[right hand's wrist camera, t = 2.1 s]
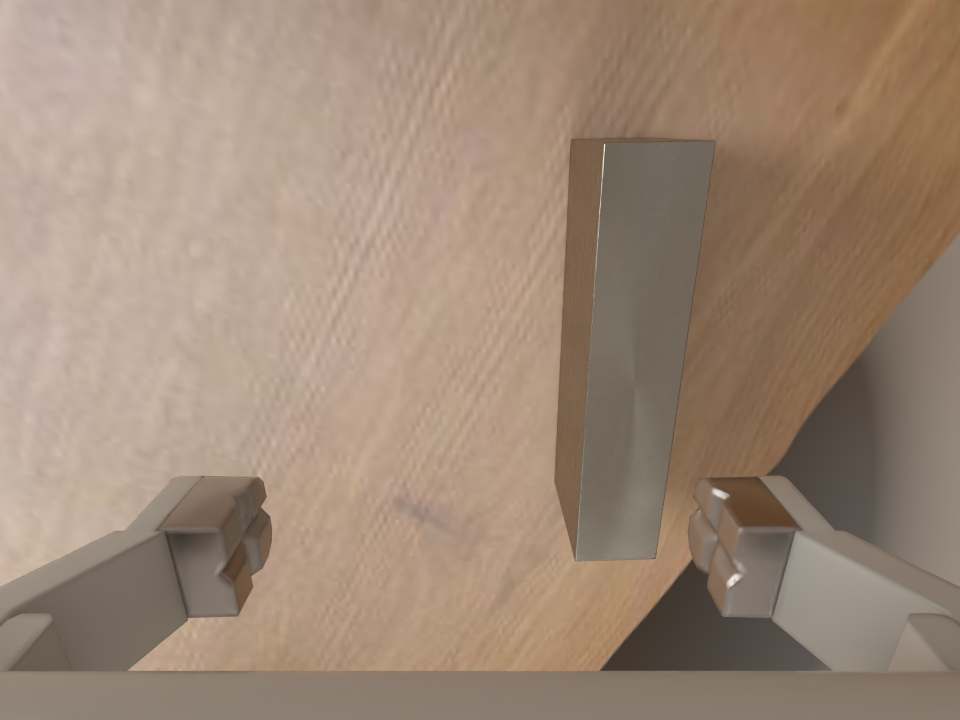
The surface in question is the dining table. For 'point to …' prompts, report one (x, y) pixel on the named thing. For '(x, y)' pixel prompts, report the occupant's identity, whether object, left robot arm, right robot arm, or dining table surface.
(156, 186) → the dining table surface
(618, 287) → the bar
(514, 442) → the dining table surface
